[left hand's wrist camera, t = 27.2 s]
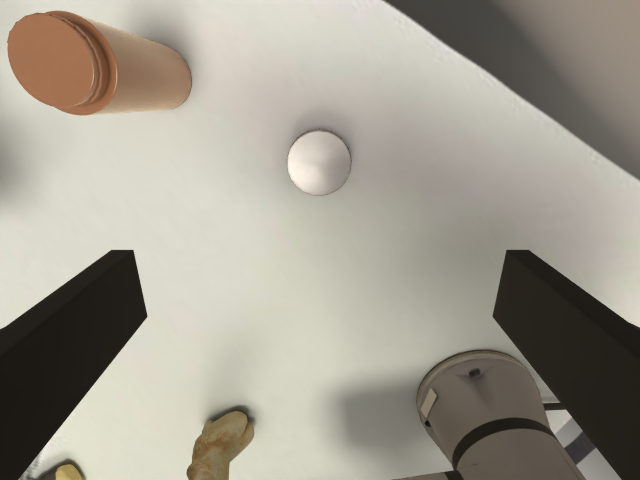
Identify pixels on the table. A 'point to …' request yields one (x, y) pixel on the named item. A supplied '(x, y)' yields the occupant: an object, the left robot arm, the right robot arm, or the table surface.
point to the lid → (319, 162)
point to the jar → (94, 66)
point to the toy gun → (63, 473)
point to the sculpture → (219, 446)
